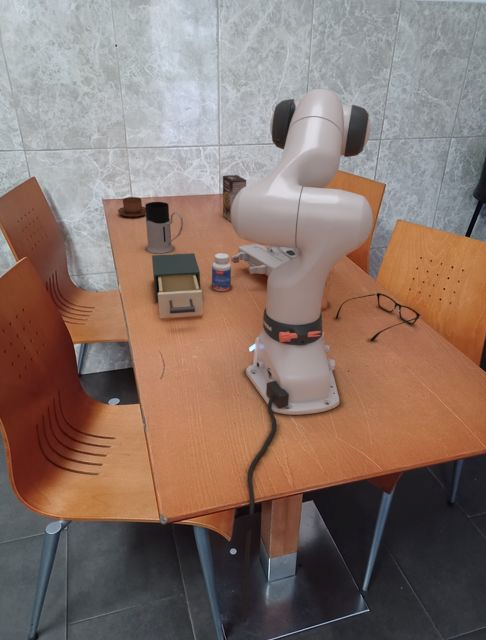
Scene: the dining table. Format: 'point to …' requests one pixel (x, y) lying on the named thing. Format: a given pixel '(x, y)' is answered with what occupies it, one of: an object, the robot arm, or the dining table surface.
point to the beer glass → (326, 291)
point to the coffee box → (231, 192)
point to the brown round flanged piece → (132, 207)
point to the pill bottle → (221, 272)
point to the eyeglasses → (387, 311)
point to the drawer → (179, 296)
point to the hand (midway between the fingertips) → (240, 264)
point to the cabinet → (174, 267)
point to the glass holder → (159, 227)
